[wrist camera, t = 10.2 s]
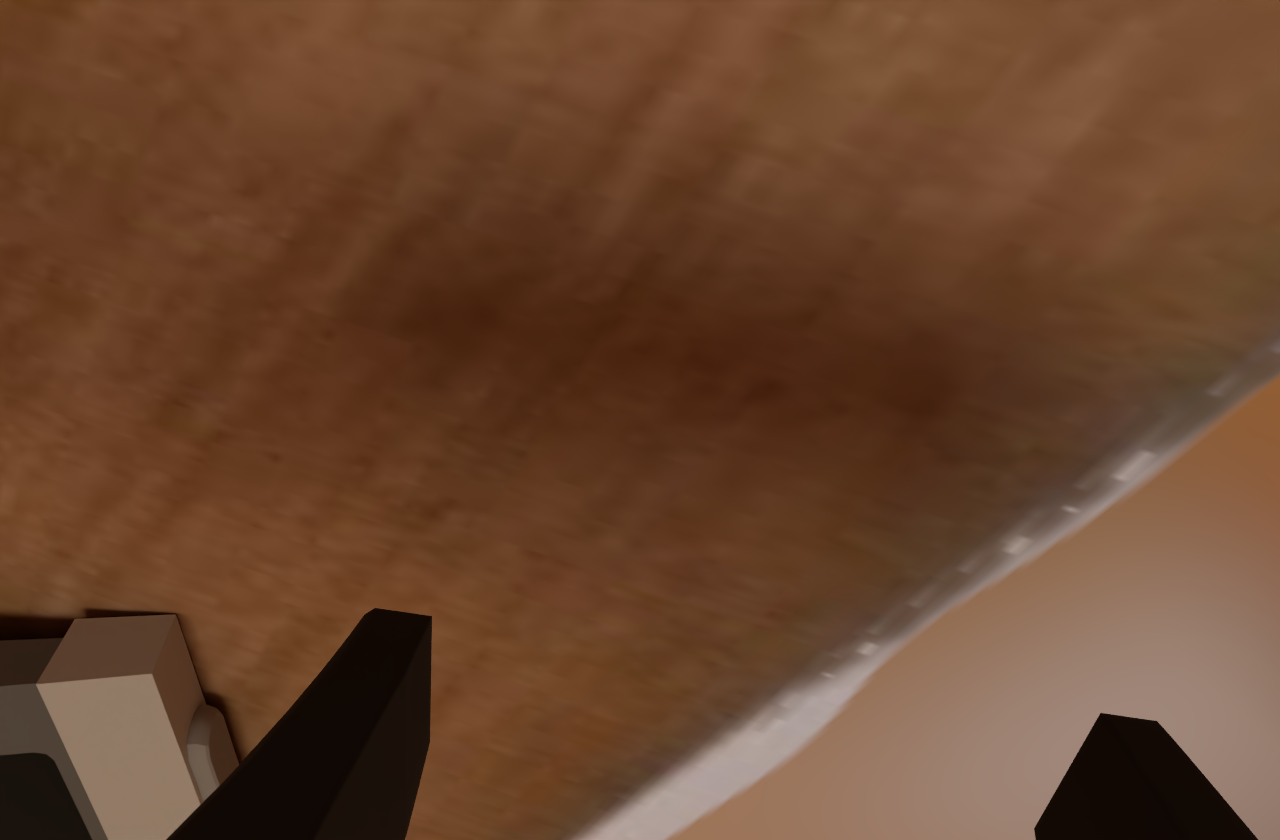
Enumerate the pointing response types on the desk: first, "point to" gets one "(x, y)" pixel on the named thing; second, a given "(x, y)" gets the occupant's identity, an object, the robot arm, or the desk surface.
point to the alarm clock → (106, 733)
